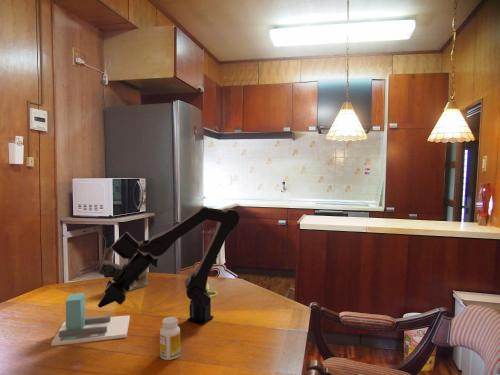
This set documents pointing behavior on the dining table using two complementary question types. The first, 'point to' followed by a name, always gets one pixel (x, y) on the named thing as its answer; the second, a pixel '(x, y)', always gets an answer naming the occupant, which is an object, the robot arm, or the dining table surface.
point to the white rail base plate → (94, 330)
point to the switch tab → (75, 311)
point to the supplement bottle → (169, 339)
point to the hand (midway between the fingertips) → (98, 306)
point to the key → (211, 291)
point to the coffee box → (143, 278)
